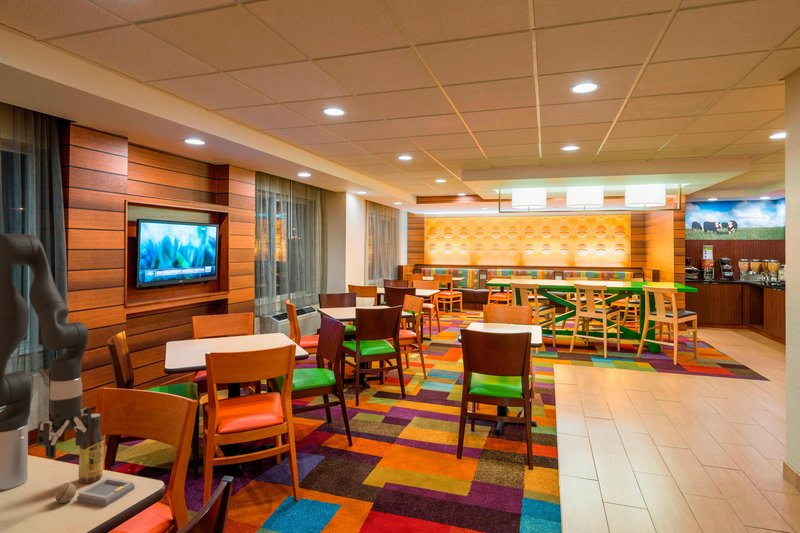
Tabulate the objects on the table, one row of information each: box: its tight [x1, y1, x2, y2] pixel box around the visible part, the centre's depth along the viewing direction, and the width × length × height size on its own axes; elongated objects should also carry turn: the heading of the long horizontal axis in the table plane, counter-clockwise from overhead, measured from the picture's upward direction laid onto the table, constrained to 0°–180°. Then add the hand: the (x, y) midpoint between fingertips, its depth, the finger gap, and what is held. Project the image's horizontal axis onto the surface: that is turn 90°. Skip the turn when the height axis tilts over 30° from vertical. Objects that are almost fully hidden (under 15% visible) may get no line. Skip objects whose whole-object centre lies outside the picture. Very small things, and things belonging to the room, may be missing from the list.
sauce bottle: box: [78, 413, 105, 484], centre depth 142 cm, size 7×6×20 cm
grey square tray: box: [76, 477, 136, 507], centre depth 134 cm, size 10×10×2 cm
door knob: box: [55, 482, 77, 504], centre depth 130 cm, size 5×5×5 cm
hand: (65, 451), depth 130 cm, fingers open, 8 cm apart
